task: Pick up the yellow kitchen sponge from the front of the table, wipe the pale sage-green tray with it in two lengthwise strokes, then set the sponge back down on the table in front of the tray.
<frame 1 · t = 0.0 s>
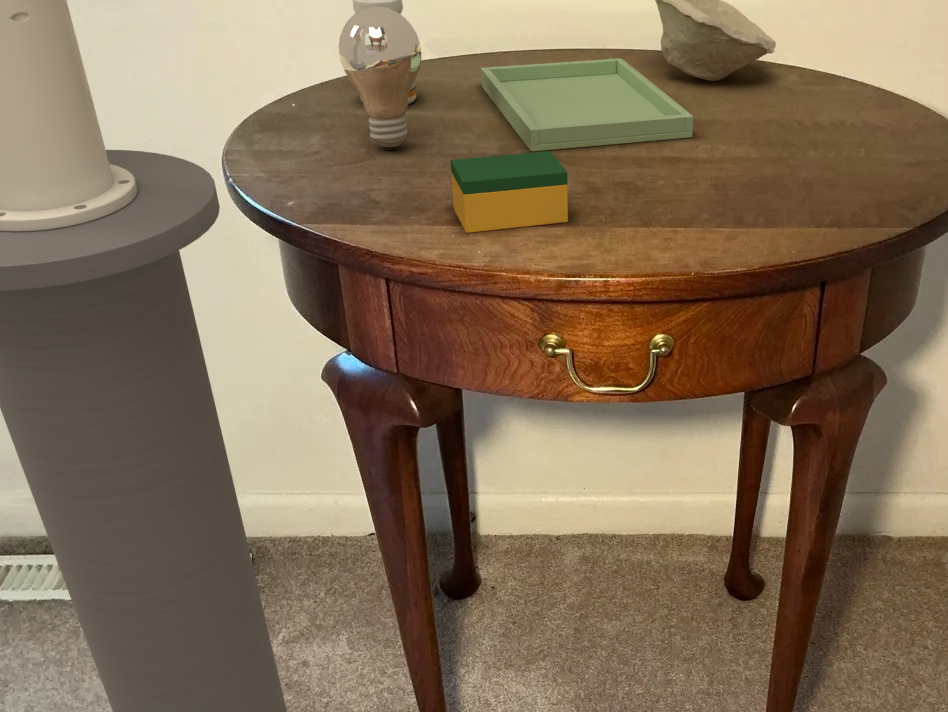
light bulb: (390, 151, 95), on the table
sponge: (510, 215, 82), on the table
pill bottle: (388, 103, 107), on the table
tray: (580, 110, 105), on the table
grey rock: (708, 79, 116), on the table
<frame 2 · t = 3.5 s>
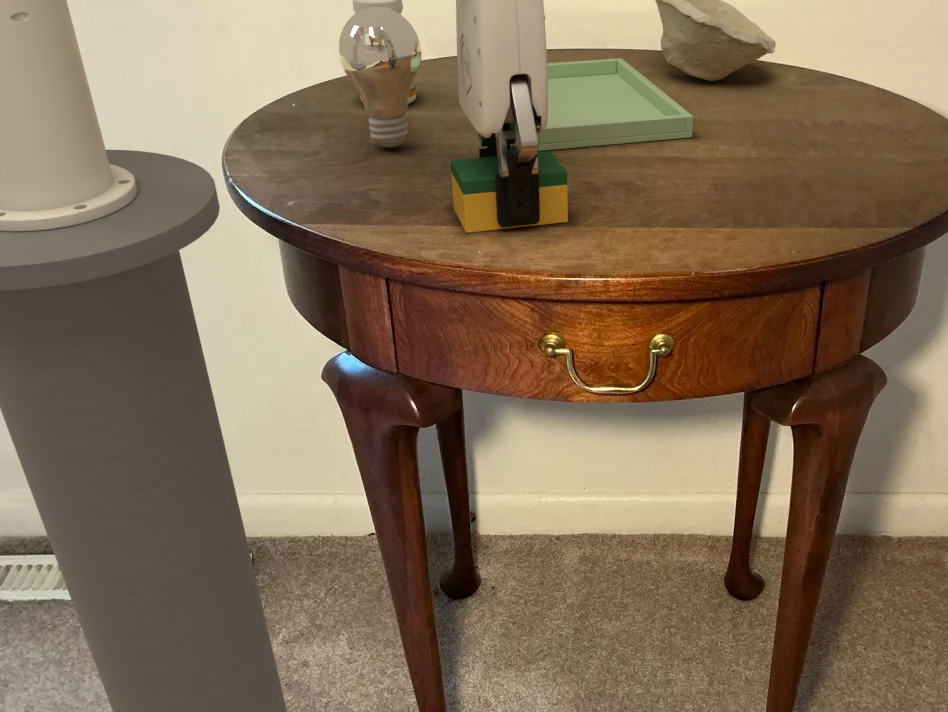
hand: (509, 207, 82), 1 cm above the table, tool pointing down, fingers closed on sponge, 5 cm apart
sponge: (510, 215, 82), on the table, touching gripper
everything else where it was.
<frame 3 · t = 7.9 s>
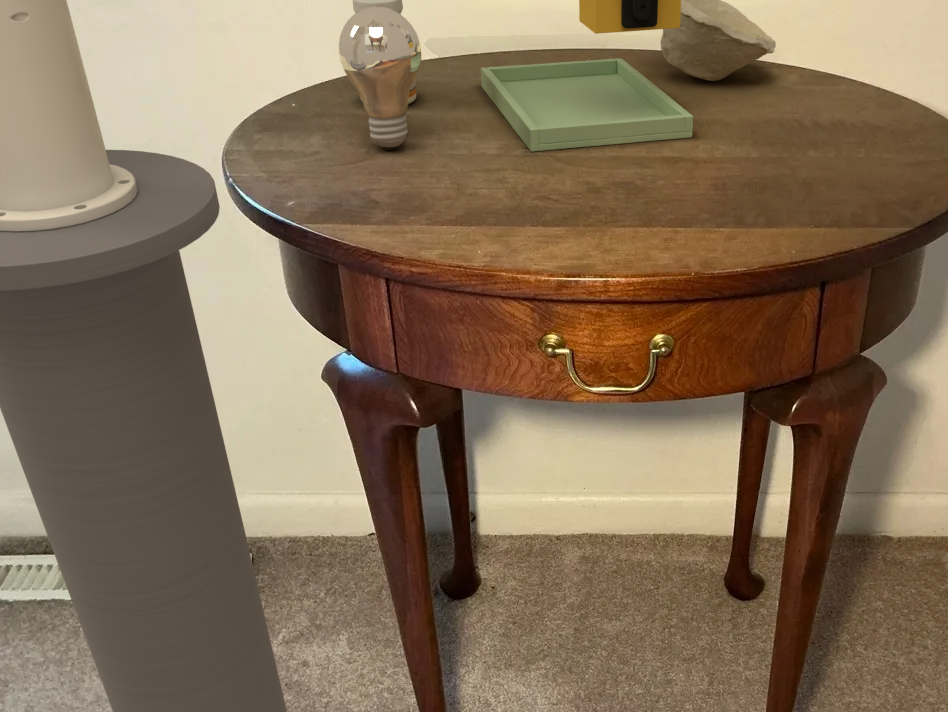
hand: (628, 17, 95), 10 cm above the table, tool pointing down, fingers closed on sponge, 5 cm apart
sponge: (629, 24, 95), point 9 cm above the table, touching gripper
everything else where it was.
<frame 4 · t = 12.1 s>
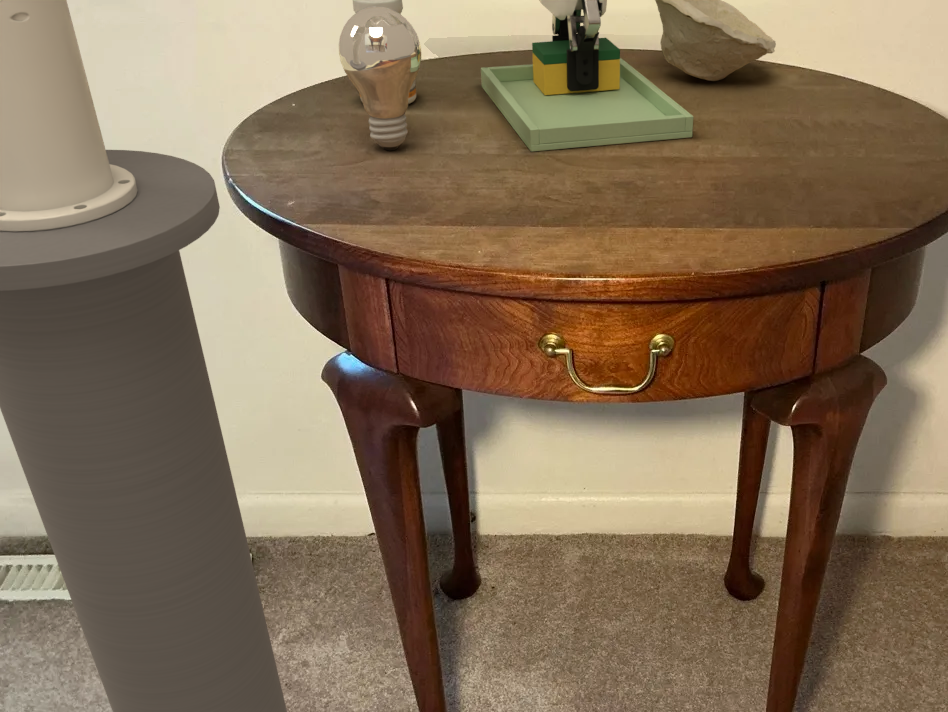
hand: (575, 80, 109), 1 cm above the table, tool pointing down, fingers closed on sponge, 5 cm apart
sponge: (576, 85, 110), point 1 cm above the table, touching gripper
everything else where it was.
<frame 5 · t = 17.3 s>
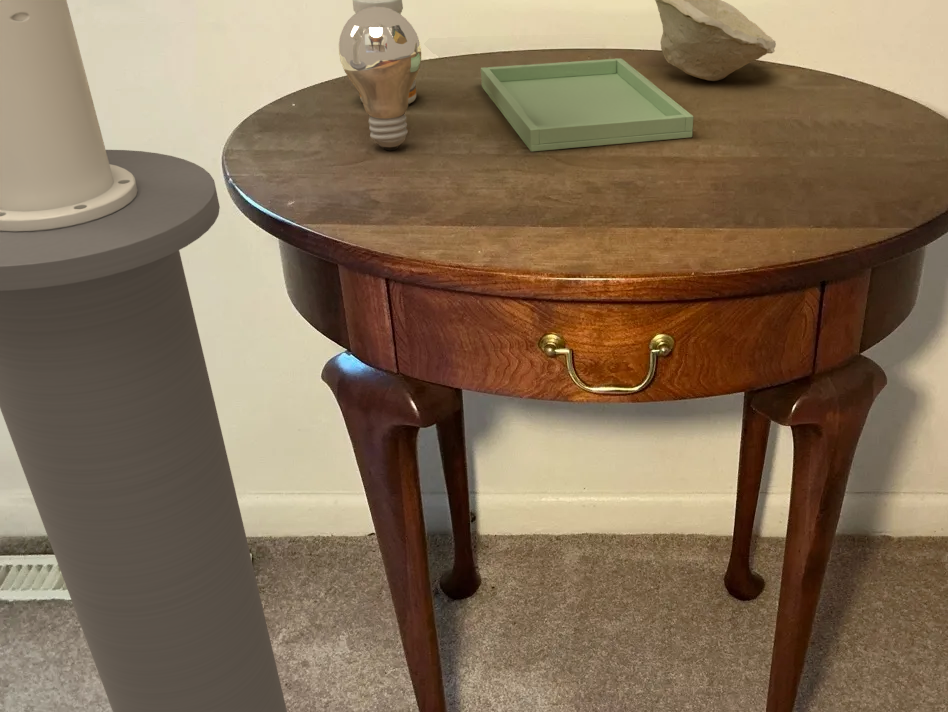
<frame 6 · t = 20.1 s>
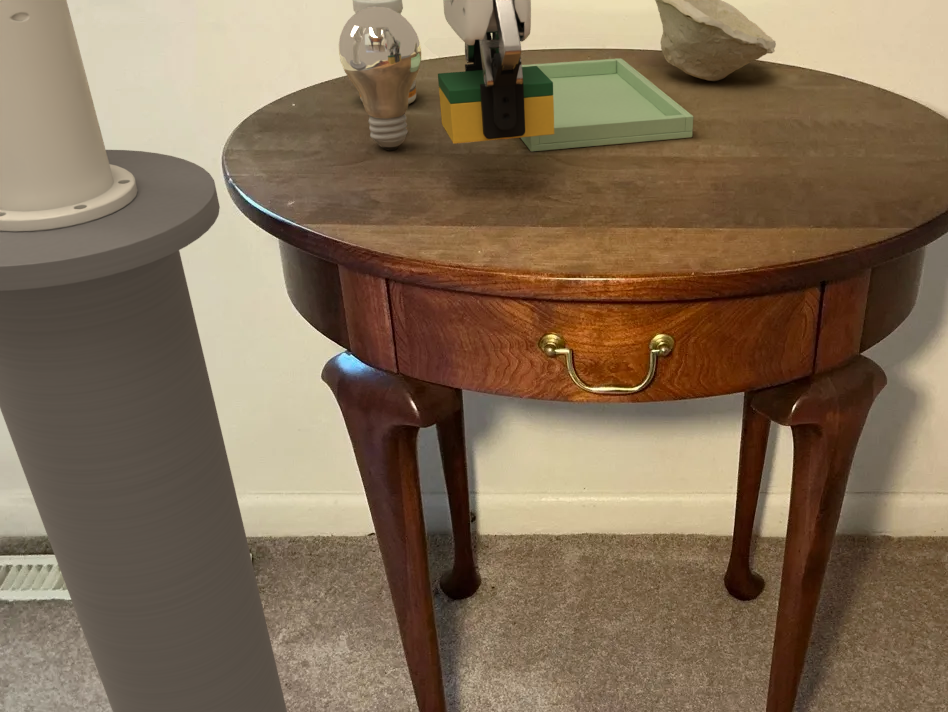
hand: (496, 122, 83), 6 cm above the table, tool pointing down, fingers closed on sponge, 5 cm apart
sponge: (497, 129, 83), point 5 cm above the table, touching gripper
everything else where it was.
when the fingers open (0 cm above the table, at t = 21.8 s): sponge stays where it is, on the table.
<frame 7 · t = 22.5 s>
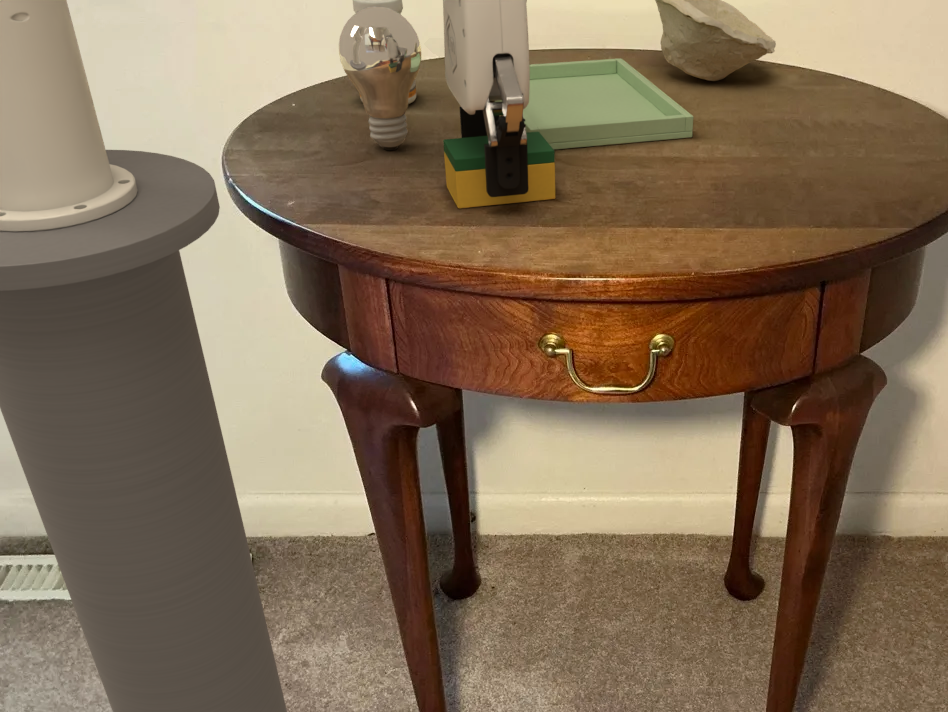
hand: (494, 173, 85), 2 cm above the table, tool pointing down, fingers open, 9 cm apart
sponge: (500, 193, 86), on the table
everything else where it was.
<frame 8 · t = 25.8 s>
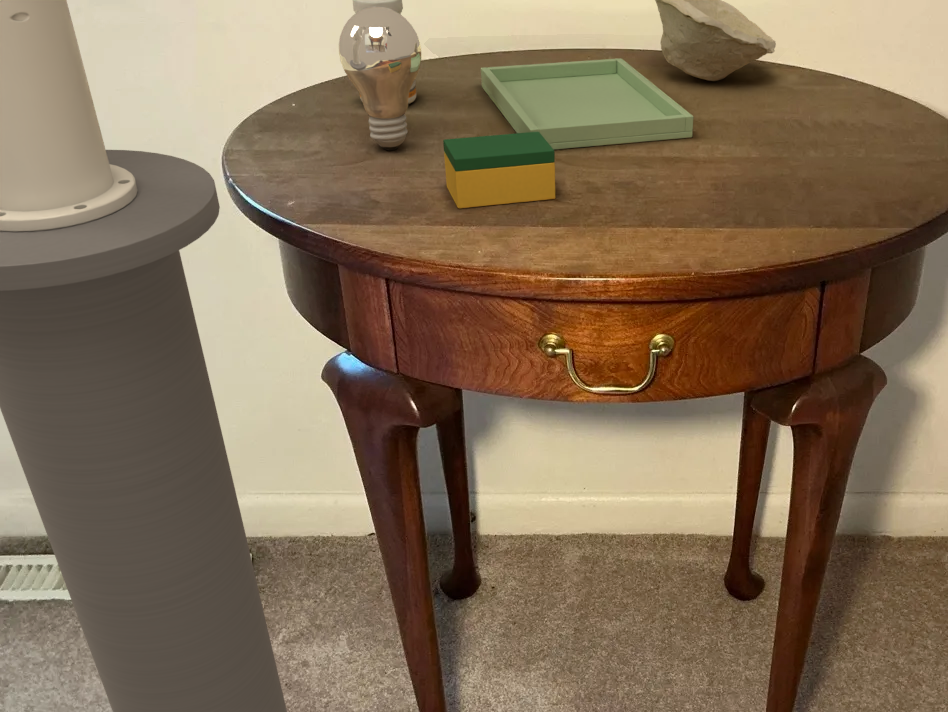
nothing on the table moved.
at the end: sponge inside the target area on the table beside the tray (0.3 cm from its centre), on the table; the gripper is holding nothing; sponge tilted 0° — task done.
